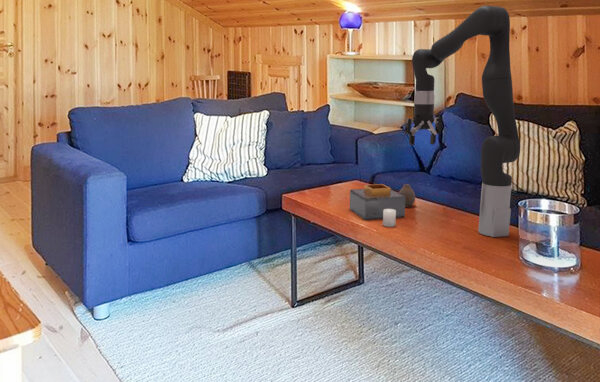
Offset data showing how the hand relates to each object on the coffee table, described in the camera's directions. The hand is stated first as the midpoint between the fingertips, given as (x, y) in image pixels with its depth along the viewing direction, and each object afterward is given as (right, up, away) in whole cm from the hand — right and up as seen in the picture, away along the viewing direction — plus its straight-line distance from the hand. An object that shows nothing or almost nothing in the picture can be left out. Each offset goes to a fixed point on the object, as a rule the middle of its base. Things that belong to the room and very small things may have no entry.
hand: (422, 144), depth 209 cm
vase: (-5, -24, +8) cm, 26 cm away
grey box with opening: (-19, -26, -1) cm, 32 cm away
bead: (-16, -30, -18) cm, 39 cm away
